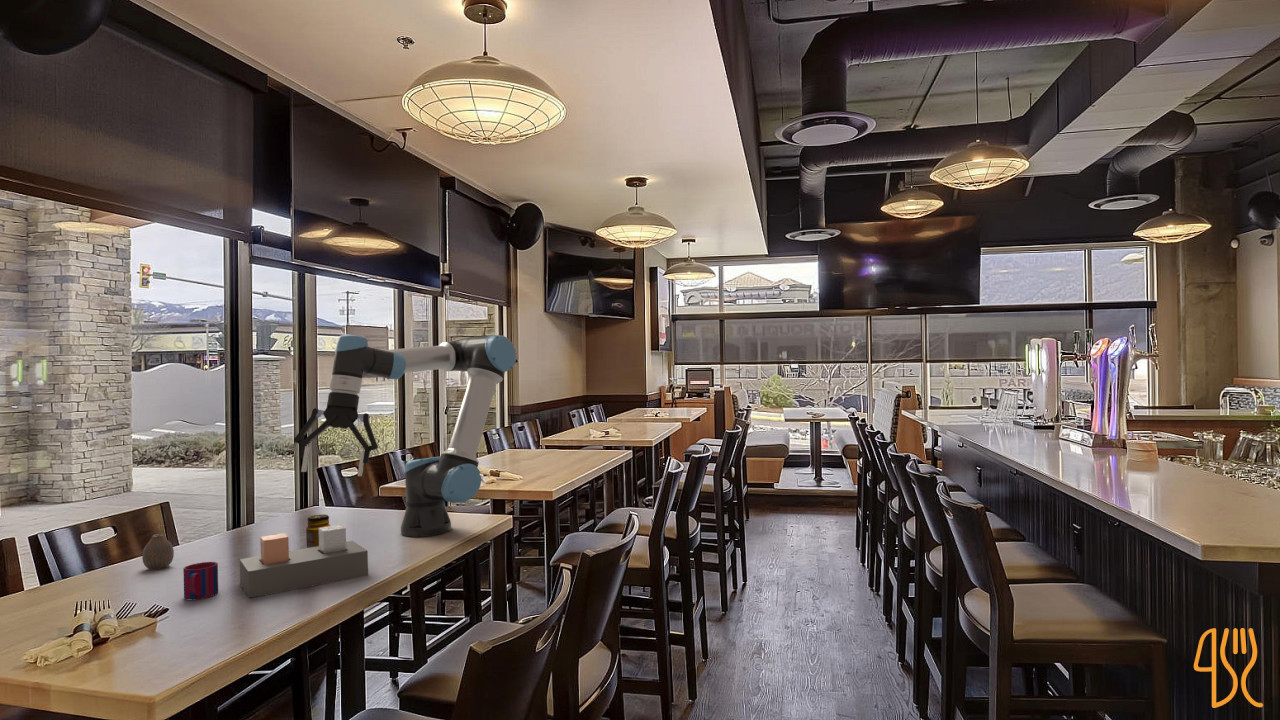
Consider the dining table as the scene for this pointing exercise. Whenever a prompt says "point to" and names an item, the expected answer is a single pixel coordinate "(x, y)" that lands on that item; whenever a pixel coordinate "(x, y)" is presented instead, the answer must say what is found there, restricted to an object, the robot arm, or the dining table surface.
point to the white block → (332, 539)
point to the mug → (200, 580)
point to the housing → (302, 569)
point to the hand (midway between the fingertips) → (331, 474)
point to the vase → (158, 553)
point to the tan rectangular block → (274, 548)
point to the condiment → (315, 529)
